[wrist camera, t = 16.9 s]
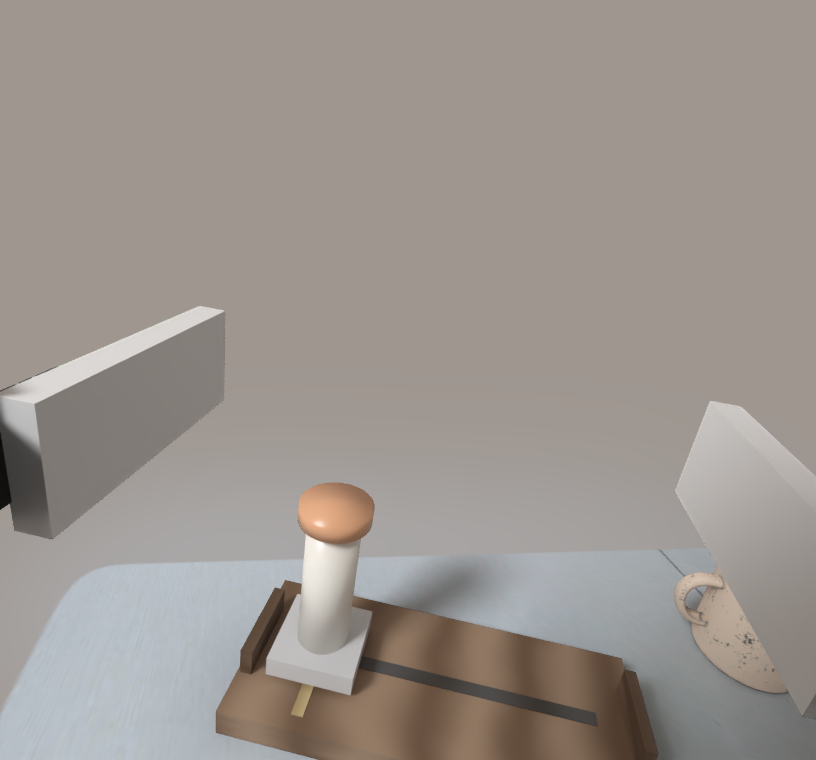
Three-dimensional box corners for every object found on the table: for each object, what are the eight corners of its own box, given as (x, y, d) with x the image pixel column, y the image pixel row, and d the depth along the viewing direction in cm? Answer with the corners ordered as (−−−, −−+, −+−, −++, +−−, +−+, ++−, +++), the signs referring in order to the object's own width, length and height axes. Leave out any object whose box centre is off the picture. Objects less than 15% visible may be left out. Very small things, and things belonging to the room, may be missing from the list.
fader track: (614, 676, 43) (628, 639, 42) (654, 848, 32) (676, 807, 31) (284, 598, 46) (286, 561, 44) (215, 732, 35) (216, 689, 33)
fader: (370, 626, 41) (391, 488, 37) (350, 695, 36) (372, 543, 31) (296, 608, 42) (307, 470, 37) (265, 674, 36) (274, 521, 32)
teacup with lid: (767, 621, 52) (819, 523, 47) (825, 709, 43) (894, 599, 39) (642, 597, 52) (682, 498, 48) (675, 679, 44) (727, 567, 40)
